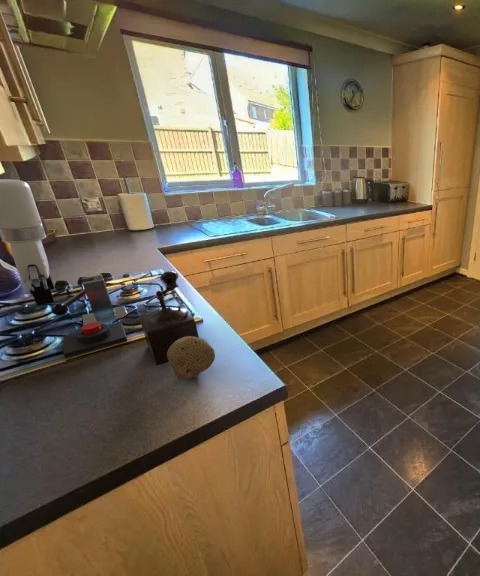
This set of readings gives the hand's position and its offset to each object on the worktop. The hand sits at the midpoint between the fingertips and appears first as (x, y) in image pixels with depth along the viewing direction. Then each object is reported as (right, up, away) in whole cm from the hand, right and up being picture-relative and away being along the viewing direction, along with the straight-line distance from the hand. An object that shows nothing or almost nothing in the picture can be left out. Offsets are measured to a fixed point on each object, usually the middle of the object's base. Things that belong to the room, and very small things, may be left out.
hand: (46, 296), depth 86 cm
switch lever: (+5, -1, +5) cm, 7 cm away
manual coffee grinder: (+33, -13, +1) cm, 36 cm away
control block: (+14, -12, -1) cm, 19 cm away
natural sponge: (+46, -18, -10) cm, 50 cm away
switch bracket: (+7, -7, +10) cm, 14 cm away
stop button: (+14, -9, -2) cm, 17 cm away
